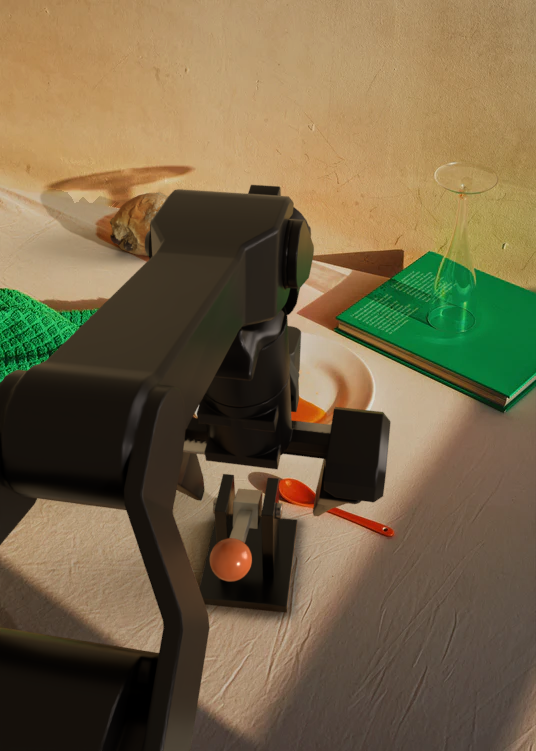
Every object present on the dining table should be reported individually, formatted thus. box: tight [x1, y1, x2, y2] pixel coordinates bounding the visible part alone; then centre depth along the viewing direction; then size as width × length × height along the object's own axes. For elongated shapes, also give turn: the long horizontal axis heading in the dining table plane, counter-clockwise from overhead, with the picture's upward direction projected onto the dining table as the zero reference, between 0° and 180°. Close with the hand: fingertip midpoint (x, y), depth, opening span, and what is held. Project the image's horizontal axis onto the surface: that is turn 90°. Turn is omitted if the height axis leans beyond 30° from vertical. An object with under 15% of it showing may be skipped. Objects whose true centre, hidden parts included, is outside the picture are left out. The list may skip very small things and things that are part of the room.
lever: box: [210, 488, 264, 581], centre depth 60 cm, size 12×3×3 cm, turn 173°
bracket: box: [199, 473, 298, 614], centre depth 66 cm, size 10×8×9 cm
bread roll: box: [109, 191, 169, 257], centre depth 119 cm, size 12×13×10 cm
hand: (258, 502), depth 57 cm, fingers open, 9 cm apart
